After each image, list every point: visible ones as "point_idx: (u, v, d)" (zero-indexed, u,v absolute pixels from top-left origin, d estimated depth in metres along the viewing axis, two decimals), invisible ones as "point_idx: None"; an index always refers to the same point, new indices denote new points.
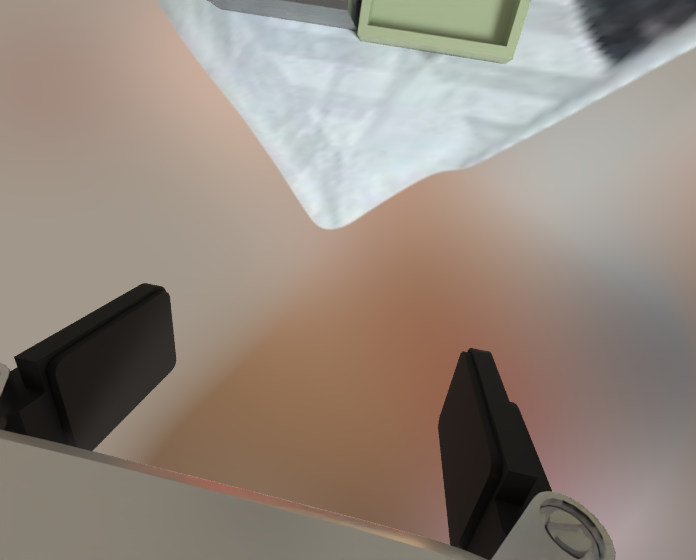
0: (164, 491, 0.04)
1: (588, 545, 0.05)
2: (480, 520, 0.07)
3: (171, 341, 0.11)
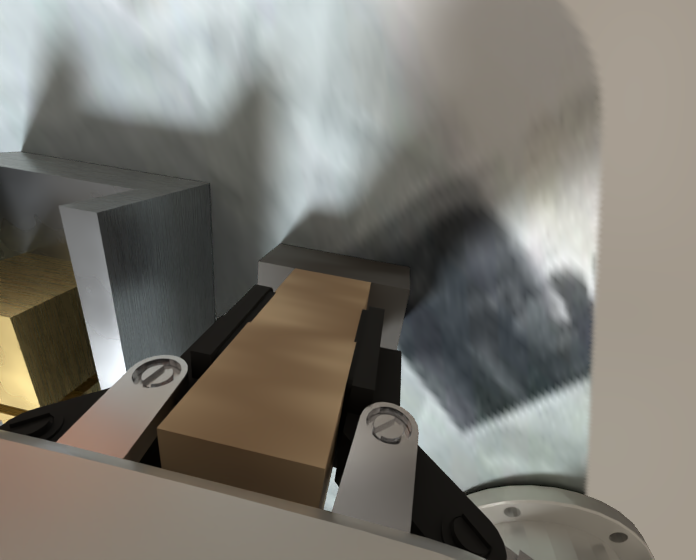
0: (164, 491, 0.04)
1: (401, 430, 0.07)
2: None
3: None
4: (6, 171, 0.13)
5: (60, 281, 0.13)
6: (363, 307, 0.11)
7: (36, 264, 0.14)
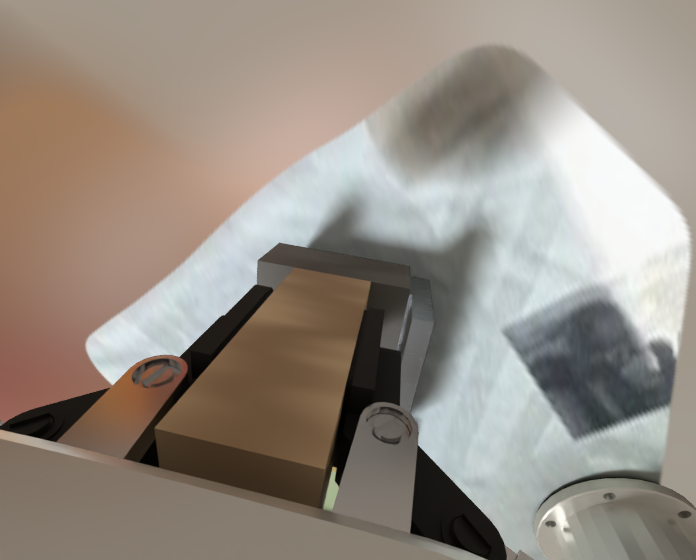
0: (164, 491, 0.04)
1: (401, 430, 0.07)
2: None
3: None
4: None
5: None
6: (363, 306, 0.11)
7: None
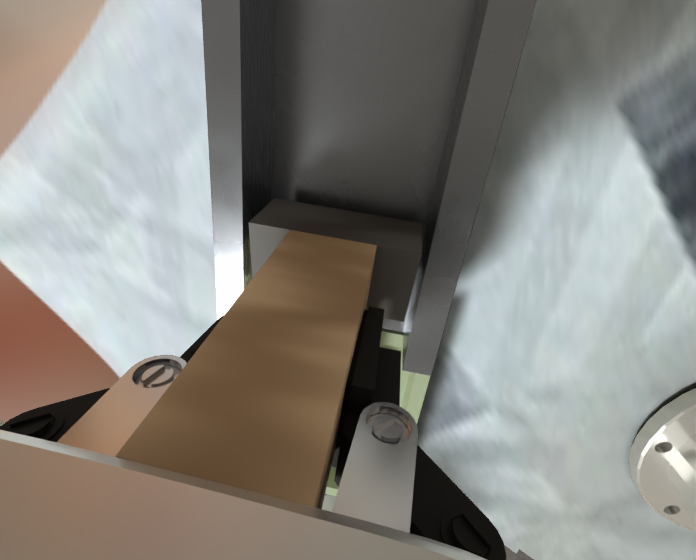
0: (164, 491, 0.04)
1: (401, 430, 0.07)
2: None
3: None
4: None
5: None
6: (367, 279, 0.10)
7: None
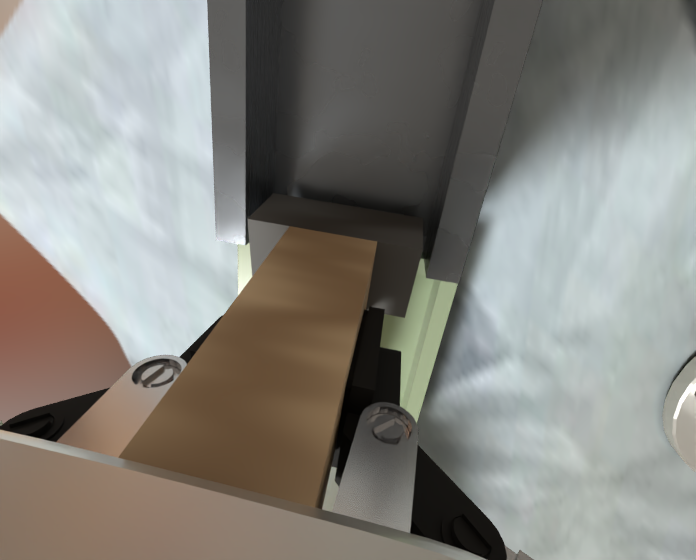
0: (164, 491, 0.04)
1: (401, 430, 0.07)
2: None
3: None
4: None
5: None
6: (367, 277, 0.09)
7: None
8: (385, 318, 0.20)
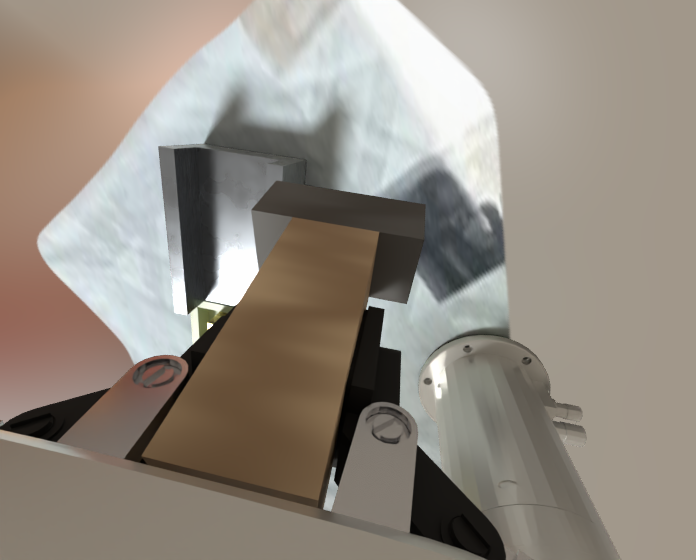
0: (164, 491, 0.04)
1: (401, 430, 0.07)
2: None
3: None
4: (216, 152, 0.27)
5: None
6: (368, 270, 0.10)
7: None
8: None
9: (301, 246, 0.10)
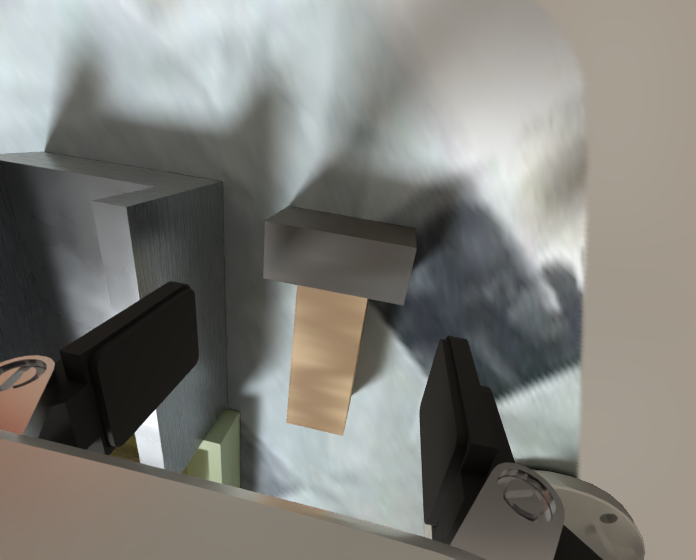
0: (164, 491, 0.04)
1: (541, 507, 0.06)
2: (449, 492, 0.07)
3: (195, 337, 0.11)
4: (35, 170, 0.14)
5: None
6: (358, 340, 0.15)
7: None
8: (197, 457, 0.24)
9: (311, 320, 0.15)
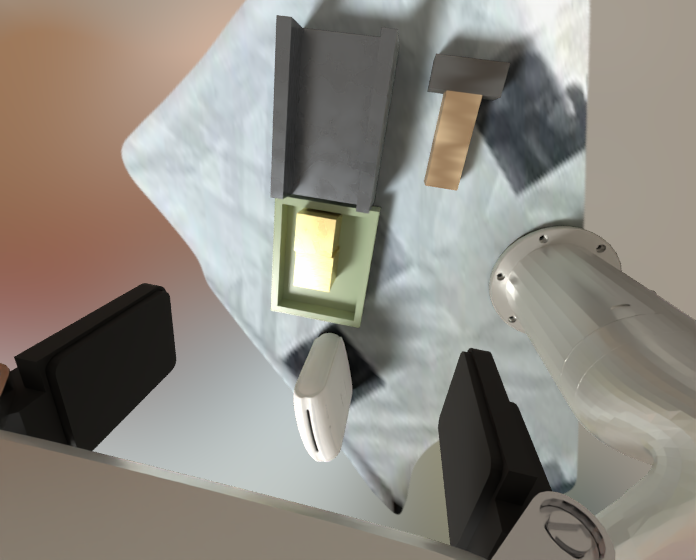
0: (164, 491, 0.04)
1: (588, 545, 0.05)
2: (480, 520, 0.07)
3: (171, 341, 0.11)
4: (321, 32, 0.29)
5: (333, 213, 0.36)
6: (474, 122, 0.30)
7: None
8: (348, 244, 0.38)
9: (451, 111, 0.29)
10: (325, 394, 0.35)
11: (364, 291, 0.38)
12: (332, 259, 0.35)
